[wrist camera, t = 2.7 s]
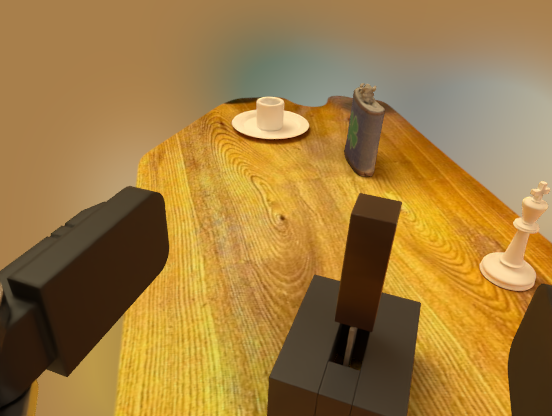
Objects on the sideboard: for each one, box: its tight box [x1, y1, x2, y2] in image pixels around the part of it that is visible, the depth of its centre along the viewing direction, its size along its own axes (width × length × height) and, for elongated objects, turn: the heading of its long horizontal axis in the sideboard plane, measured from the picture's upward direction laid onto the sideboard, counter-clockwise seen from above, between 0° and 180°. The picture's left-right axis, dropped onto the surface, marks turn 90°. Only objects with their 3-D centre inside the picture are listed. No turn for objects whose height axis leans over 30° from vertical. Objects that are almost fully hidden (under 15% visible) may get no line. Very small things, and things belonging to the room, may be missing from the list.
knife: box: [334, 193, 402, 367], centre depth 29 cm, size 2×3×15 cm
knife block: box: [267, 275, 421, 416], centre depth 31 cm, size 8×10×5 cm
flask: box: [344, 83, 385, 177], centre depth 60 cm, size 9×3×11 cm, turn 4°
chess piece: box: [480, 181, 550, 291], centre depth 41 cm, size 5×5×10 cm
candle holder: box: [232, 97, 309, 139], centre depth 71 cm, size 12×12×4 cm
